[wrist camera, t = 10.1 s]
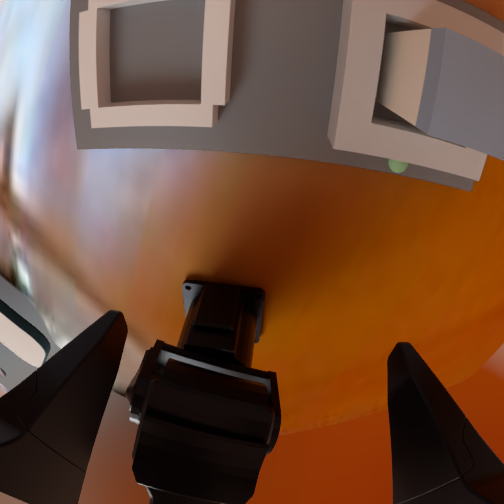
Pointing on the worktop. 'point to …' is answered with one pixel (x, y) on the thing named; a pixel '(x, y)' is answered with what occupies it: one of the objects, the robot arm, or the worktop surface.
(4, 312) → the external hard drive
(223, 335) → the robot arm
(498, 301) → the worktop surface
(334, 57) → the panel
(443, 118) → the plug
